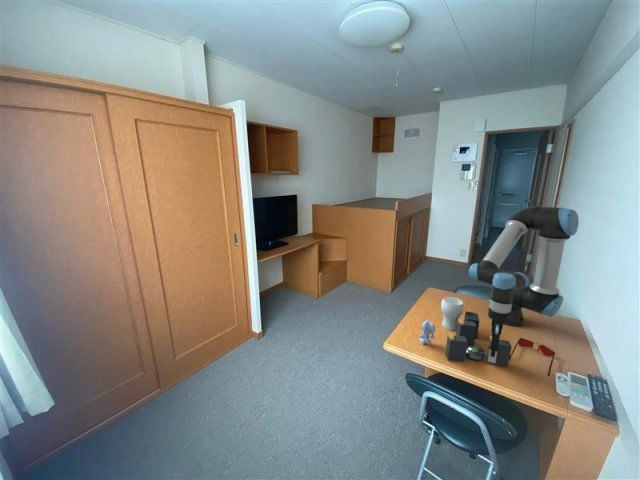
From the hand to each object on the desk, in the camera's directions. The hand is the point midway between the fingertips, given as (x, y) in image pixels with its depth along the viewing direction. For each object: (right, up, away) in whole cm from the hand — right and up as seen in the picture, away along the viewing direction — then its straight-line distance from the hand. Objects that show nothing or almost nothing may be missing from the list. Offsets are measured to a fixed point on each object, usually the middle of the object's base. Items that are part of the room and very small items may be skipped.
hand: (491, 358), depth 116 cm
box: (+2, +3, +20) cm, 21 cm away
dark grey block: (-15, -1, +2) cm, 15 cm away
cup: (-5, +5, +27) cm, 28 cm away
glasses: (+19, -2, +2) cm, 19 cm away
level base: (-6, 0, +5) cm, 8 cm away
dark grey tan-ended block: (+2, -2, 0) cm, 3 cm away
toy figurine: (-24, +1, +14) cm, 27 cm away
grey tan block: (-4, +2, +14) cm, 15 cm away
